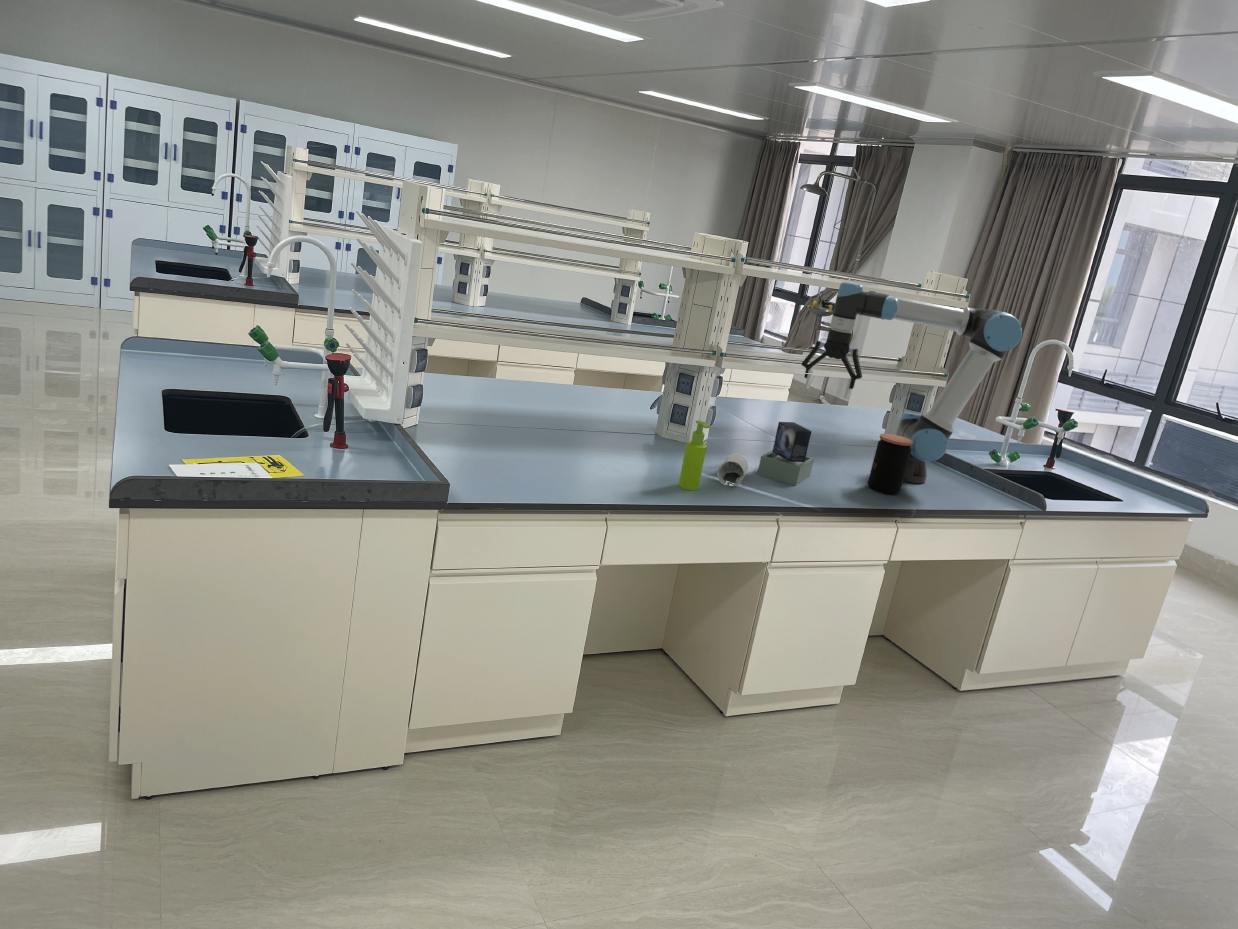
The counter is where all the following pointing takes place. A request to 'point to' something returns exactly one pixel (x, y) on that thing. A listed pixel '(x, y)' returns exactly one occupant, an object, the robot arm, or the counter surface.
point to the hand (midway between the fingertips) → (826, 393)
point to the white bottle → (733, 468)
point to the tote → (784, 469)
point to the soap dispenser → (693, 459)
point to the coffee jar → (890, 464)
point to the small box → (791, 441)
